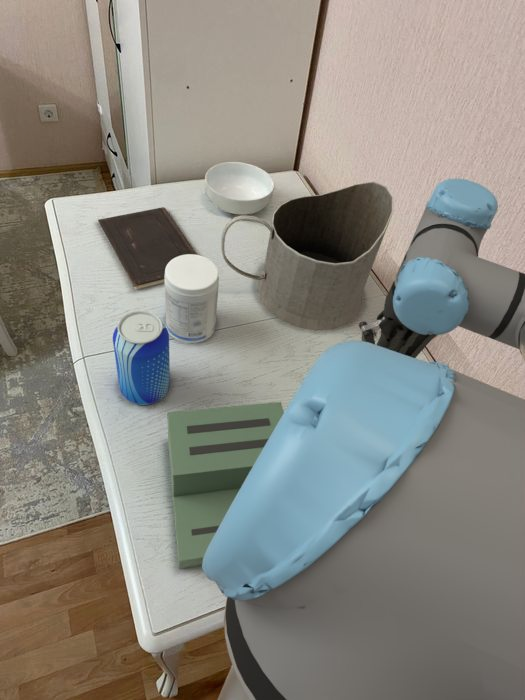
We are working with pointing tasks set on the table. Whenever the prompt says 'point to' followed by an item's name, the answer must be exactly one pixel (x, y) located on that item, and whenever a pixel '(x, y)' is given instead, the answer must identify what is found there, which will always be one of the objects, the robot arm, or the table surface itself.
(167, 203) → the table surface
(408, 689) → the robot arm
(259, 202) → the cereal bowl
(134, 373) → the beer can
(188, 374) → the table surface
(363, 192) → the pitcher
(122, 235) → the hardcover book
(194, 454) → the toaster
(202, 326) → the supplement tub
